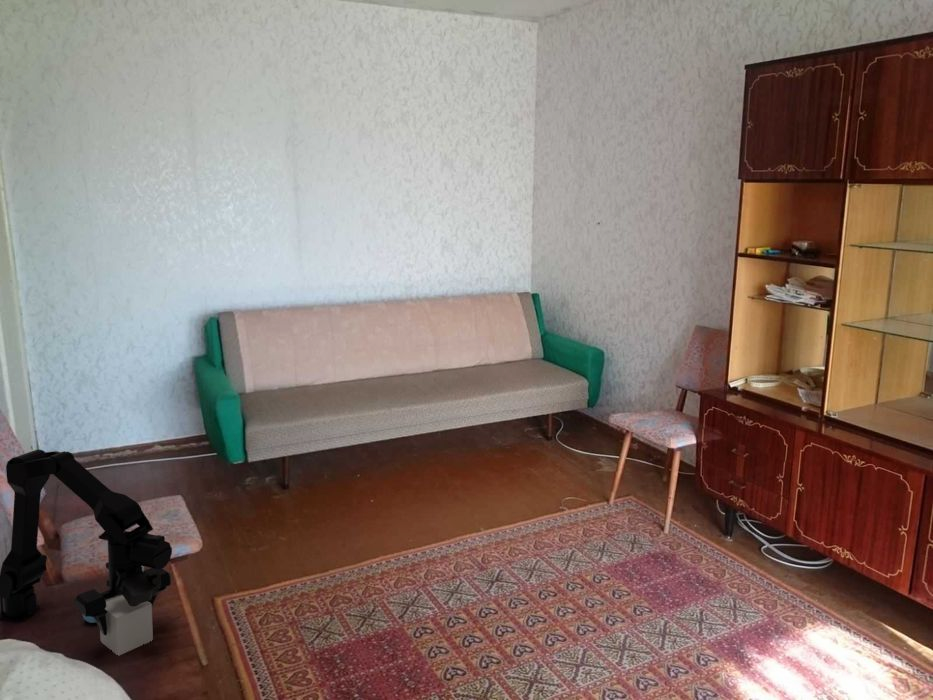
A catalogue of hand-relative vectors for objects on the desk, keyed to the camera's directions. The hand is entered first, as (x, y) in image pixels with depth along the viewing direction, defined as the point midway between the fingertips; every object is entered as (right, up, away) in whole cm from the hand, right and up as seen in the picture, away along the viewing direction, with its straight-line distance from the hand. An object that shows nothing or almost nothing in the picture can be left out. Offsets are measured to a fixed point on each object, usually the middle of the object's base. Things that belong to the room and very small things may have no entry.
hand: (126, 625), depth 158 cm
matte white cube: (0, -4, +1) cm, 4 cm away
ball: (-10, +1, +7) cm, 12 cm away
